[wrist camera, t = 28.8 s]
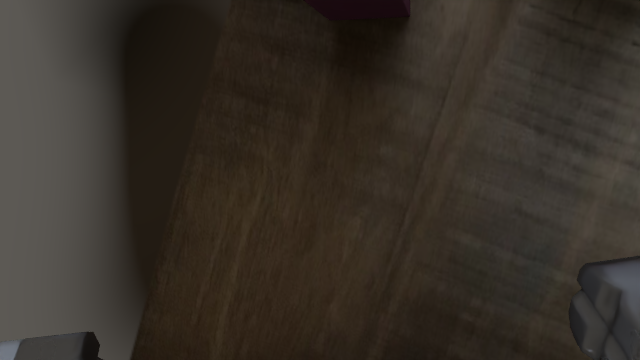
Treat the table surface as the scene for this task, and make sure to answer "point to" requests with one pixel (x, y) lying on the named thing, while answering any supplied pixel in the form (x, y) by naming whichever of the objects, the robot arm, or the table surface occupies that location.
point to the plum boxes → (361, 8)
